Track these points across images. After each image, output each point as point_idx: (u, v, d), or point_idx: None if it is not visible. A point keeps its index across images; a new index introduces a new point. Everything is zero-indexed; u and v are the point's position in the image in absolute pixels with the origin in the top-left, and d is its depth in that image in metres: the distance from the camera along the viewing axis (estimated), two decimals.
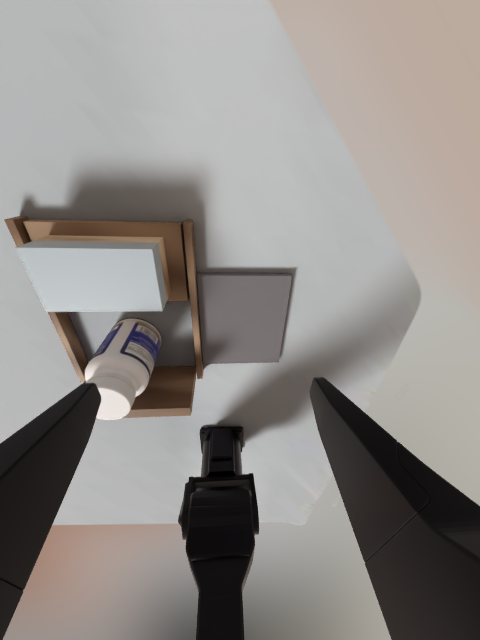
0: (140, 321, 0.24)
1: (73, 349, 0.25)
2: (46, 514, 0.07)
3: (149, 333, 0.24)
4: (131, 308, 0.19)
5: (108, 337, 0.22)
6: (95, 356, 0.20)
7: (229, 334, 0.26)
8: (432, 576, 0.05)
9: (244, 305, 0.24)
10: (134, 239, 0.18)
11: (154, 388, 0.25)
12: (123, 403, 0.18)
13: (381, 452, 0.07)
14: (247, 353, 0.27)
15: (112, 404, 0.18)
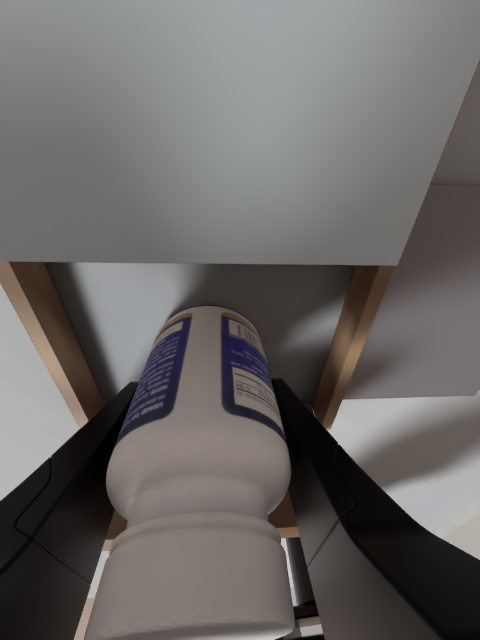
0: (228, 312, 0.10)
1: (70, 376, 0.11)
2: (107, 510, 0.07)
3: (255, 341, 0.10)
4: (291, 253, 0.05)
5: (165, 353, 0.08)
6: (143, 423, 0.06)
7: (411, 342, 0.12)
8: (350, 583, 0.05)
9: None
10: None
11: None
12: (270, 634, 0.05)
13: (318, 455, 0.06)
14: (426, 380, 0.13)
15: (227, 637, 0.05)
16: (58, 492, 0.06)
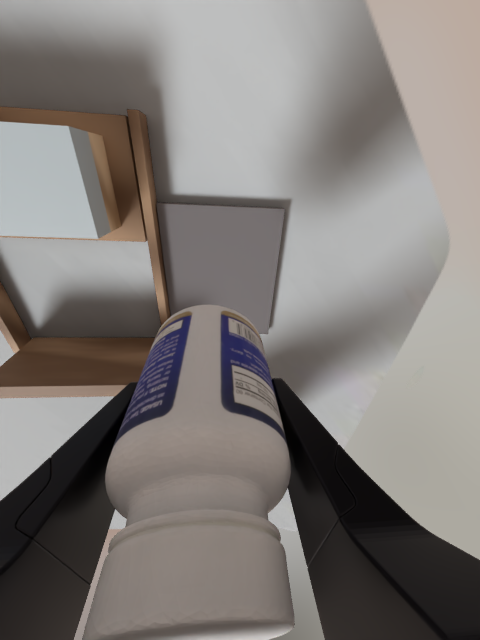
0: (228, 311, 0.10)
1: None
2: (107, 510, 0.07)
3: (255, 339, 0.10)
4: (51, 233, 0.13)
5: (165, 352, 0.08)
6: (142, 421, 0.06)
7: (204, 294, 0.20)
8: (350, 583, 0.05)
9: (222, 251, 0.18)
10: None
11: (106, 361, 0.20)
12: (270, 632, 0.05)
13: (318, 455, 0.06)
14: None
15: (227, 636, 0.05)
16: (58, 492, 0.06)
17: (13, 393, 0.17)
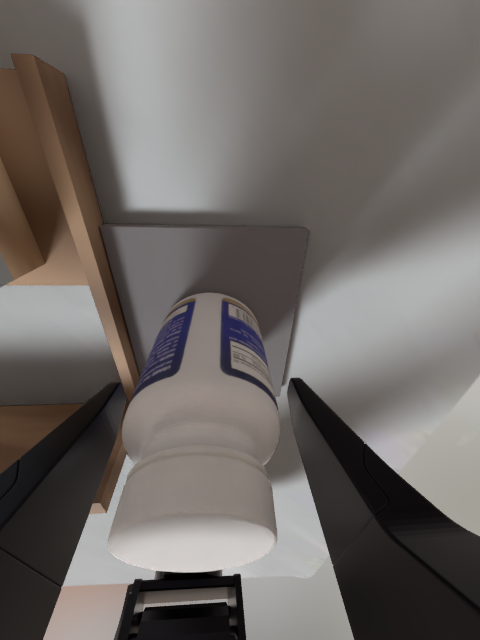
0: (229, 298, 0.11)
1: None
2: (81, 512, 0.07)
3: (252, 323, 0.11)
4: None
5: (172, 330, 0.09)
6: (154, 381, 0.07)
7: None
8: (386, 580, 0.05)
9: None
10: None
11: None
12: (257, 544, 0.06)
13: (346, 454, 0.06)
14: None
15: (222, 546, 0.06)
16: (23, 493, 0.05)
17: None
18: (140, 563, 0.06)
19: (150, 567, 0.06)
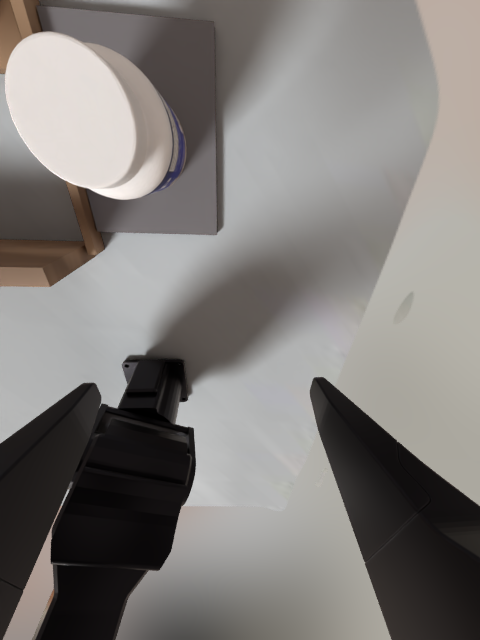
0: None
1: None
2: (46, 514, 0.07)
3: None
4: None
5: None
6: None
7: None
8: (432, 576, 0.05)
9: None
10: None
11: (2, 252, 0.16)
12: (120, 119, 0.08)
13: (381, 452, 0.07)
14: (164, 213, 0.17)
15: (94, 121, 0.08)
16: None
17: None
18: (38, 148, 0.08)
19: (48, 162, 0.08)
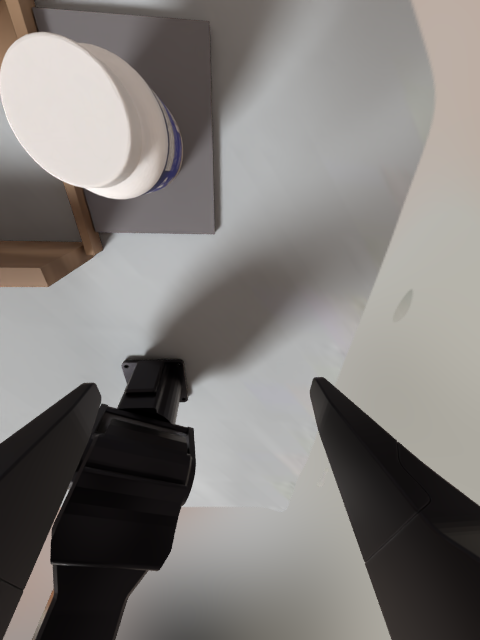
0: None
1: None
2: (46, 514, 0.07)
3: None
4: None
5: None
6: None
7: None
8: (432, 576, 0.05)
9: None
10: None
11: (0, 253, 0.16)
12: (114, 118, 0.08)
13: (381, 452, 0.07)
14: (162, 212, 0.17)
15: (89, 121, 0.08)
16: None
17: None
18: (33, 148, 0.08)
19: (44, 162, 0.08)
